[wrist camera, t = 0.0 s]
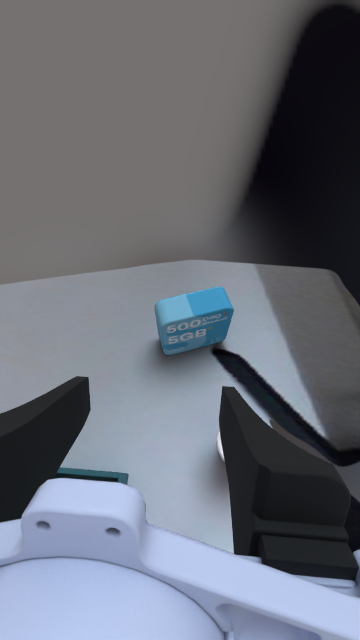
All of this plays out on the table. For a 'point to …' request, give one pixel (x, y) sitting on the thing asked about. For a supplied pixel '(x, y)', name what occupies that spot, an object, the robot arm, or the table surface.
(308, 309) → the table surface
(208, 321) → the data package
